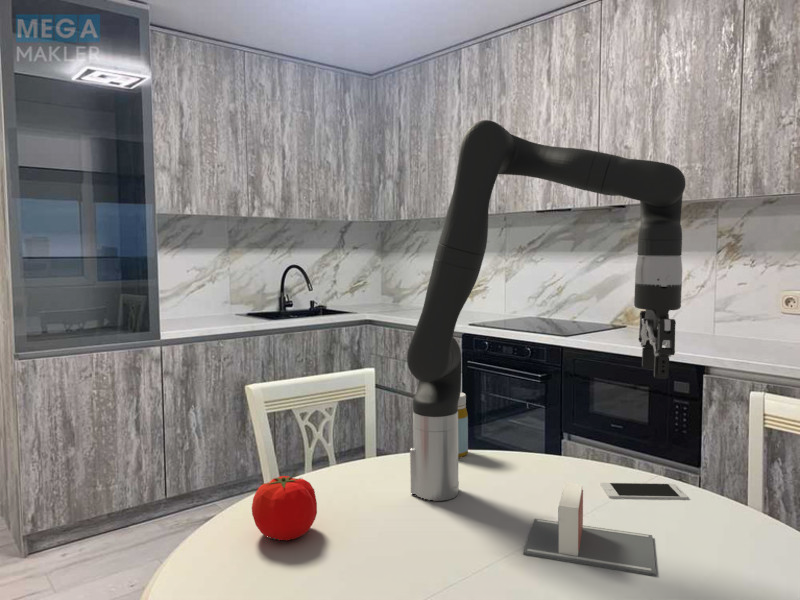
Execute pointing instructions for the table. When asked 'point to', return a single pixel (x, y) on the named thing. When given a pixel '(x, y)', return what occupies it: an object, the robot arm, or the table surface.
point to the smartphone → (643, 491)
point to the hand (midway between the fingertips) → (654, 373)
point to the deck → (570, 519)
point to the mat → (595, 547)
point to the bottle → (462, 426)
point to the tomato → (284, 508)
